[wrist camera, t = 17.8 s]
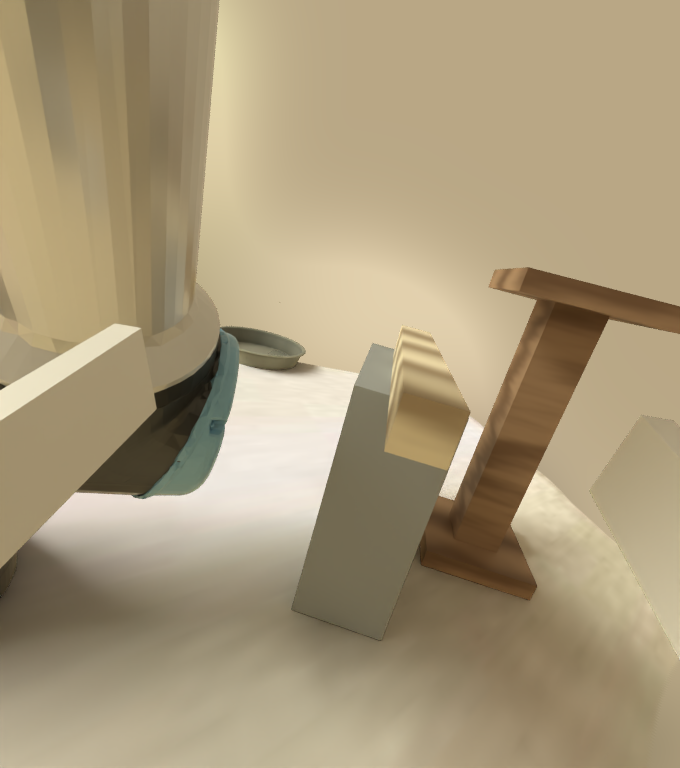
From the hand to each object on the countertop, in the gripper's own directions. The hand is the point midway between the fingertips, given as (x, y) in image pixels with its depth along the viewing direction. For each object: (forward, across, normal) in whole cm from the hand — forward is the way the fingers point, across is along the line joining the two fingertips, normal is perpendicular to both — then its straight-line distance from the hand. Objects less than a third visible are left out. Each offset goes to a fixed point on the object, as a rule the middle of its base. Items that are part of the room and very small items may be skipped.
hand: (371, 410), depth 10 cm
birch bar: (+16, +3, -9) cm, 19 cm away
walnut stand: (+23, +15, -34) cm, 44 cm away
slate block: (+16, +1, -30) cm, 34 cm away
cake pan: (+76, -30, -44) cm, 92 cm away
